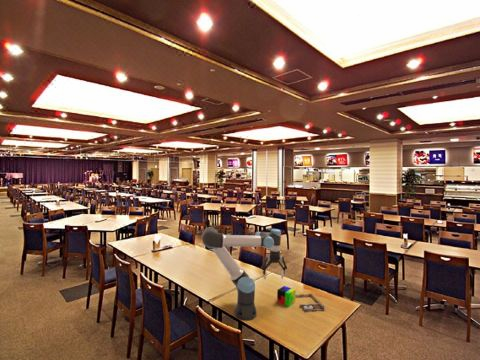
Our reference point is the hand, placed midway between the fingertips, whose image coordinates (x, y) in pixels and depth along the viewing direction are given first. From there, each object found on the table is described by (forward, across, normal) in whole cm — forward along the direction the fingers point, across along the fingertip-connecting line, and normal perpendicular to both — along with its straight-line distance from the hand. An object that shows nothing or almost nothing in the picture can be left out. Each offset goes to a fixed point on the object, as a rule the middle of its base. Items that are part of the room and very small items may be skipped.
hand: (273, 278), depth 192 cm
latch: (+18, +22, -15) cm, 32 cm away
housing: (+18, +26, -6) cm, 32 cm away
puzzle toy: (+19, +11, 0) cm, 22 cm away
